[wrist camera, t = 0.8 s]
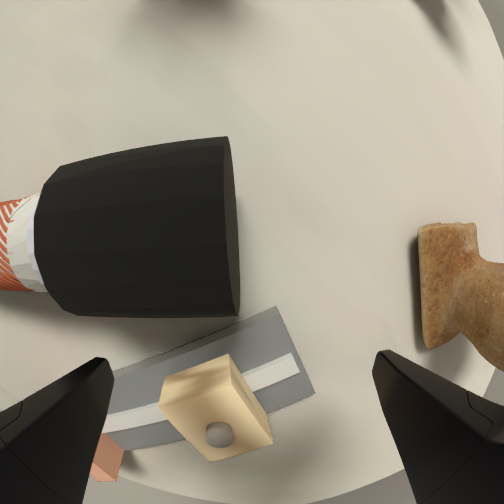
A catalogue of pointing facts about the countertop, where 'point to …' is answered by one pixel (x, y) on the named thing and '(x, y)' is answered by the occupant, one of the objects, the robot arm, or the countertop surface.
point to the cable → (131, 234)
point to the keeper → (215, 409)
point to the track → (187, 356)
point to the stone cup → (460, 290)
